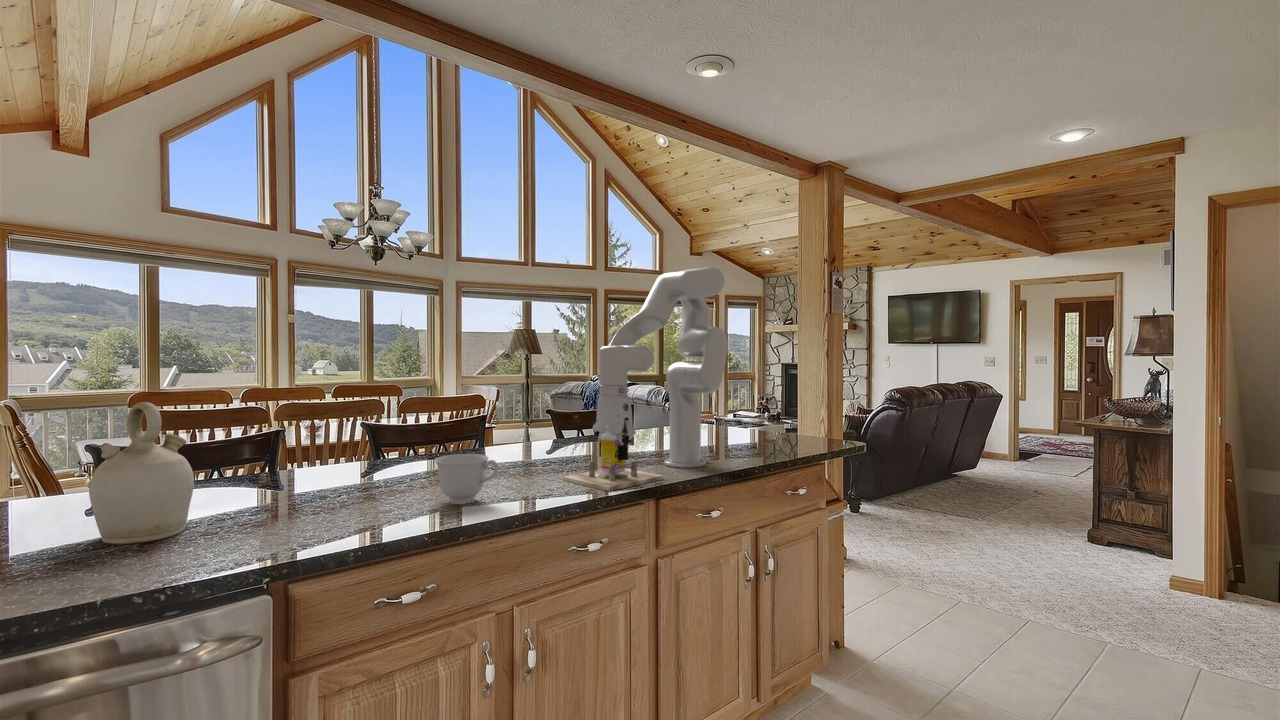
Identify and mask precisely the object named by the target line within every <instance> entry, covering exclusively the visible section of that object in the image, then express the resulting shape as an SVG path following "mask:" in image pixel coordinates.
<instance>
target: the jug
mask: <svg viewBox="0 0 1280 720" xmlns="http://www.w3.org/2000/svg"><path fill="white" fill-rule="evenodd" d="M143 416H145V418H146V419H145V420H146V429H145V433H144V432H143V427H142V419H143ZM125 422H126V423H125V425H126V433H127V435H128V437H129V439H130V441H131V442H130V444H129V445H128V446H127V447H126V448H124V449H122V450H121V448H120V446H118V445H113V444H111V443H109V442H105V443H103V444H101V445H100V450H101V455H100V457H101V458H102V459H105V460H104V461H102V462H101V463H100V464H99V466H97V467H96V469H95V471H94V472H93V474H92V477H91V479H90V483H89V486H88V487H89V488H88V495H89V501H90V505H91V510H92V513H93V516H94V520H95V523H96V526H97V530H98V531H99V534H100V537H101V541H102V542H103V543H104V544H106V545H133V544H141V543H143V544H144V543H149V542H155V541H158V540H161V539H162V540H164V539H166V538H167V539H168V538H170V537H173V536H175V535H178V534H180V533H182V532H183V531H185V528H186V523H187V521H188V516H189V510H190V504H191V501H192V497H193V492H194V487H195V486H194V485H195V476H194V472H193V468H192V467H191V464H190V463H189V461H188V460H187V459H186V457H185V456H183V455H181V454H180V453H179V452H178V450H179V449H180V448H182V447H183V446H185V445H186V444H187V440H186V439H185V438H184V437H181V436H179V435H176V434H172V433H166V434H164V441H163V444H160V445H158V444H156V443H155V441H156V439H157V438H158V437H159V436H160V433H161V430H162V424H163V423H162V416H161V413H160V410H159V409H158V408H157V406H156V405H155V404H153V403H151V402H148V401H141V402H139V403H135V404H134V405H133V406H131V408H130V410H129V411H128V413H127V416H126V420H125Z"/></svg>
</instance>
